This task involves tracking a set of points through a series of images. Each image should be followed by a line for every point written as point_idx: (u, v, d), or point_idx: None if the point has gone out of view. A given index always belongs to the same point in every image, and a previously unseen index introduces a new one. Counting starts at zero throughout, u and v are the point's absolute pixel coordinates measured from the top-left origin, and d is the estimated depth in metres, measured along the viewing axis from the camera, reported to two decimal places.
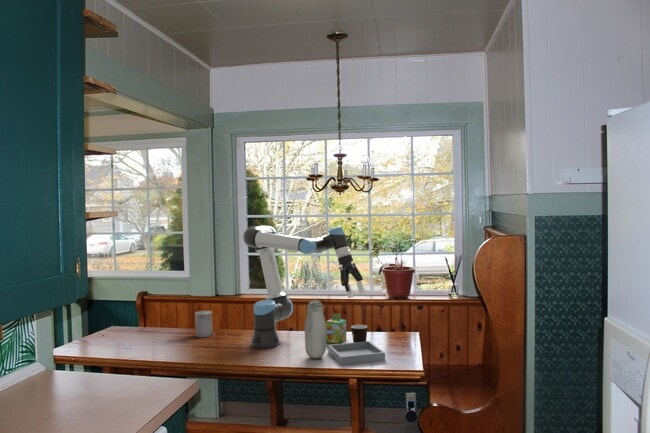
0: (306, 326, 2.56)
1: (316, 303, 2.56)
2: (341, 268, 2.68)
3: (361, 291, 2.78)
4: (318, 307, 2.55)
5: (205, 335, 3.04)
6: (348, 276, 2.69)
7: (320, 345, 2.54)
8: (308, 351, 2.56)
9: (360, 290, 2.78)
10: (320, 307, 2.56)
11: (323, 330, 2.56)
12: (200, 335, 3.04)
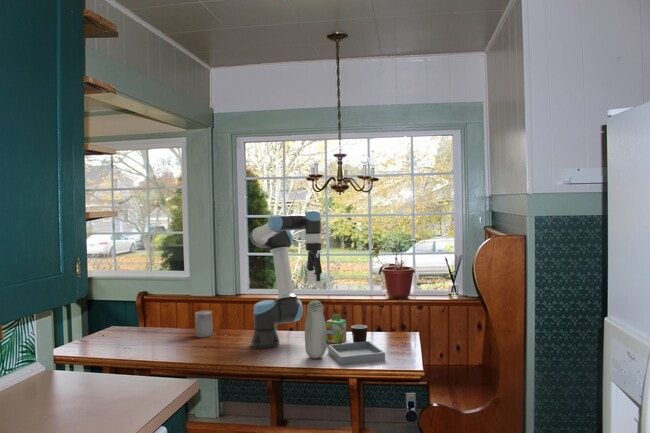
0: (306, 326, 2.56)
1: (316, 303, 2.56)
2: (317, 255, 2.51)
3: (311, 281, 2.64)
4: (318, 307, 2.55)
5: (205, 335, 3.04)
6: None
7: (320, 345, 2.54)
8: (308, 351, 2.56)
9: (310, 280, 2.64)
10: (320, 307, 2.56)
11: (323, 330, 2.56)
12: (200, 335, 3.04)
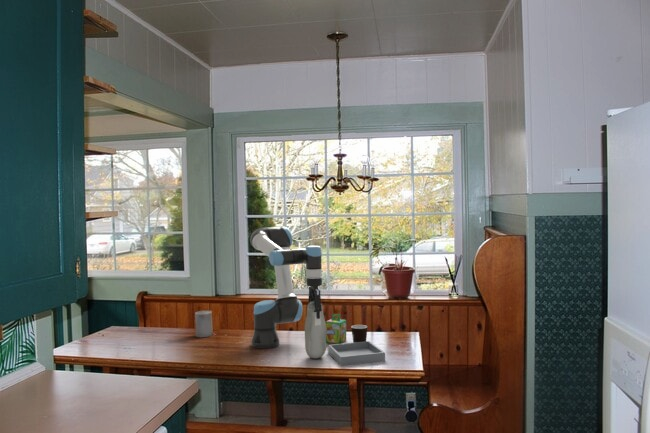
0: (306, 326, 2.56)
1: None
2: (317, 293, 2.52)
3: None
4: None
5: (205, 335, 3.04)
6: None
7: (320, 345, 2.54)
8: (308, 351, 2.56)
9: None
10: None
11: (323, 330, 2.56)
12: (200, 335, 3.04)
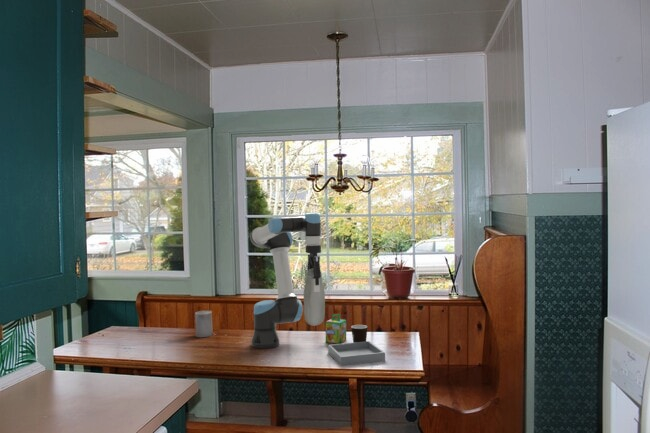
0: (305, 293, 2.56)
1: None
2: (316, 259, 2.51)
3: None
4: None
5: (205, 335, 3.04)
6: None
7: (319, 312, 2.54)
8: (307, 318, 2.56)
9: None
10: None
11: (322, 297, 2.56)
12: (200, 335, 3.04)
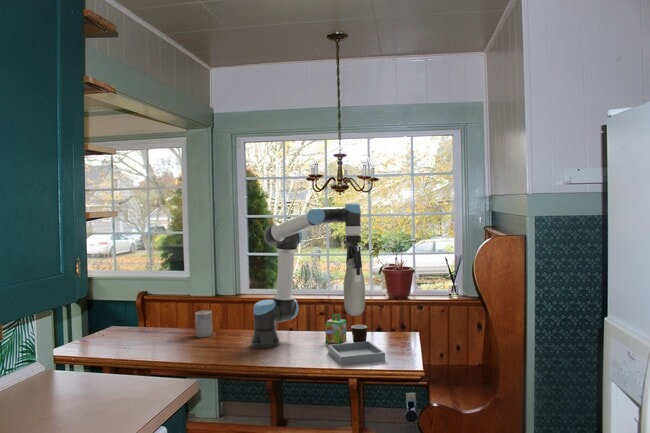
0: (345, 283, 2.55)
1: None
2: (357, 249, 2.51)
3: None
4: None
5: (205, 335, 3.04)
6: None
7: (360, 302, 2.54)
8: (347, 308, 2.55)
9: None
10: None
11: (362, 287, 2.55)
12: (200, 335, 3.04)
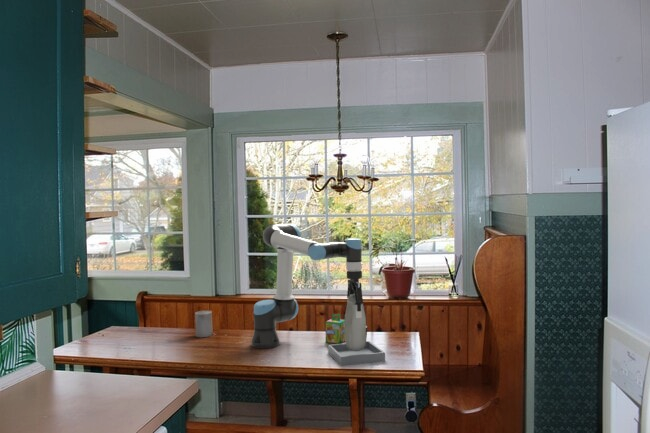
0: (346, 319, 2.56)
1: None
2: (358, 285, 2.52)
3: None
4: None
5: (205, 335, 3.04)
6: None
7: (361, 337, 2.55)
8: (348, 344, 2.56)
9: None
10: None
11: (363, 323, 2.56)
12: (200, 335, 3.04)
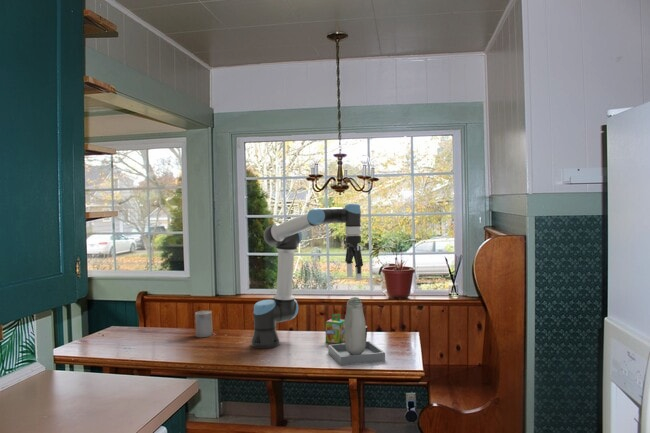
0: (346, 323, 2.56)
1: (356, 300, 2.57)
2: (357, 248, 2.51)
3: (349, 274, 2.64)
4: (358, 303, 2.56)
5: (205, 335, 3.04)
6: None
7: (361, 341, 2.55)
8: (348, 348, 2.56)
9: (349, 273, 2.64)
10: (360, 304, 2.57)
11: (363, 327, 2.56)
12: (200, 335, 3.04)
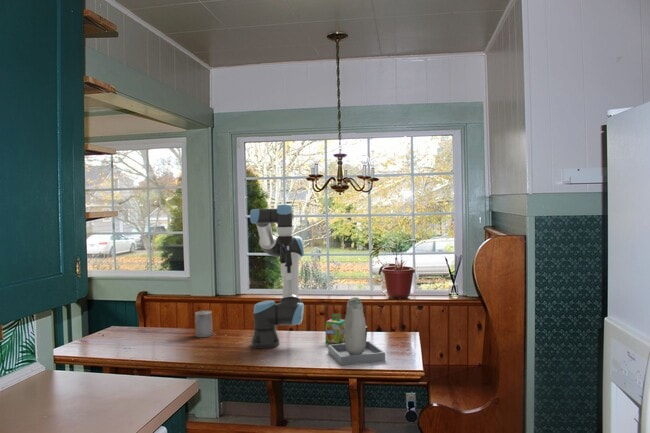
0: (346, 323, 2.56)
1: (356, 300, 2.56)
2: (287, 248, 2.58)
3: (283, 274, 2.71)
4: (358, 304, 2.56)
5: (205, 335, 3.04)
6: None
7: (361, 342, 2.55)
8: (348, 348, 2.56)
9: (282, 272, 2.71)
10: (360, 304, 2.57)
11: (363, 327, 2.56)
12: (200, 335, 3.04)
